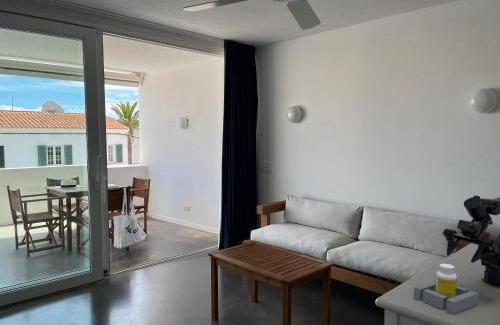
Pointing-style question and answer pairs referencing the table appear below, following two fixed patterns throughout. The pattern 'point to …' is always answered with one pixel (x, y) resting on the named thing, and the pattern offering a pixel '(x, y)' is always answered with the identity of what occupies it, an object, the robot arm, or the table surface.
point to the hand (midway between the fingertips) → (459, 258)
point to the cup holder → (441, 301)
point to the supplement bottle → (446, 281)
